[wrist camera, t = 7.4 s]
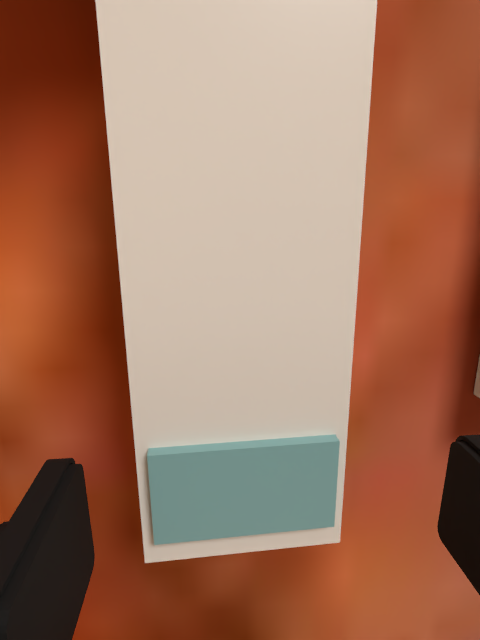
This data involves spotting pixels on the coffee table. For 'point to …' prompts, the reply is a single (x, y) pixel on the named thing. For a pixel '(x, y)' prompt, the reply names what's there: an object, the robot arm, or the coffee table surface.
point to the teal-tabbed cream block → (238, 259)
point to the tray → (477, 381)
